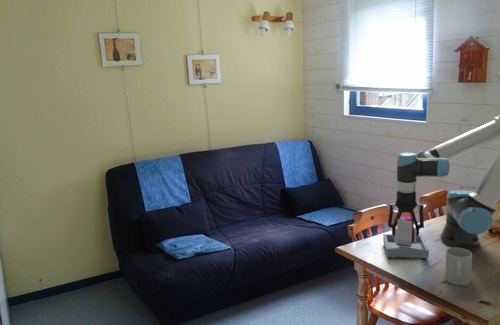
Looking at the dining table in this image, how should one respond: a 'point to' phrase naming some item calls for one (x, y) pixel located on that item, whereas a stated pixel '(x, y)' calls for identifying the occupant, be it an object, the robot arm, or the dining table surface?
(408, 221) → the supplement box
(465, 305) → the dining table surface
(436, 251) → the dining table surface
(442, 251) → the dining table surface
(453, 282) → the mug
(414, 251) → the grey tray
